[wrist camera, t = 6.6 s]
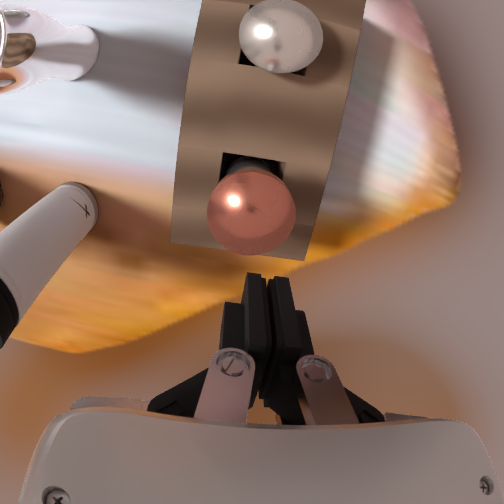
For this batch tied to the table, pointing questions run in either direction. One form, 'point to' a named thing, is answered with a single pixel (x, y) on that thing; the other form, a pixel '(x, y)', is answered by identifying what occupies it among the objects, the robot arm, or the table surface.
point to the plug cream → (280, 36)
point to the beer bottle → (1, 194)
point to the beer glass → (41, 49)
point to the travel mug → (40, 248)
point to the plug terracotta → (250, 208)
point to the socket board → (261, 117)
